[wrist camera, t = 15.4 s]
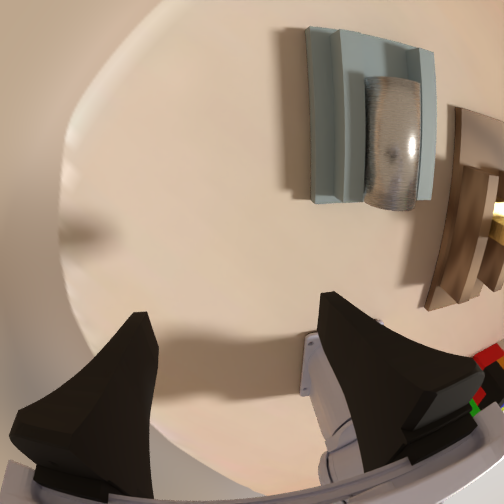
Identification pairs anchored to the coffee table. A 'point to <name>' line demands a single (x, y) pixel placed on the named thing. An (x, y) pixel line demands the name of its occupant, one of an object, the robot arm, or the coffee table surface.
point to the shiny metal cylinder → (392, 142)
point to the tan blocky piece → (498, 221)
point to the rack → (359, 108)
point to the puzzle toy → (490, 378)
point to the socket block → (471, 214)
